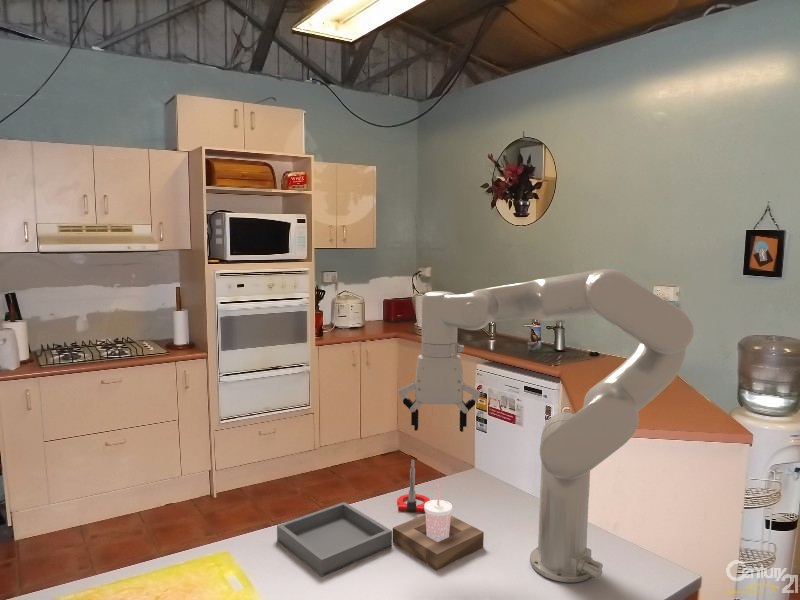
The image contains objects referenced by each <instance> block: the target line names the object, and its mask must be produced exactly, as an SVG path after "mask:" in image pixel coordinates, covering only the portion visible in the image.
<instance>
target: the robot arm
mask: <svg viewBox="0 0 800 600" xmlns="http://www.w3.org/2000/svg"><path fill="white" fill-rule="evenodd" d="M595 315H597V316H599V317H600V318H603V320H605V321H606V322H607V323H609V324H611V325H612V326H614V327H615V328H617V329H618V330H620V331H621V332H624V333H625V334H626V335H628V336H630V337H632V339H634V340H635V341H638V346H637V347H636V348H635V350H634V351H633V352H632V353H631V355H630V356H629V357H628V358H626V359H625V361H623V362H622V363H621V364H620V365H619V366H618V367H617V368H615V369H614V370H613V371H612V372H610V373H609V374H608V375H606V376H605V378H603V379H601V380H600V381H599V382H597V383H596V384H595V385H593V386H592V387H591V388H590V389H588V391H587V392H586V394H585V396H584V398H583V399H584V400H583V406H582V407H581V408H580V409H579V410H578V411H577V412H575V413H571V412H559V413H557V414H554V415H552V416H551V417H550V418H548V420H547V421H546V422H545V424H544V426H543V428H542V432H541V438H540V444H539V459H540V462H541V464H540V486H539V487H540V489H539V510H538V511H539V514H538V515H539V517H538V542H537V544H538V545H537V546H538V547H536V548H534V549H533V550H532V551H531V553H530V555H529V562H530V566H531V567H532V568H533V570H534V571H536V572H537V573H538V574H540V575H541V576H542V577H545V578H547V579H550V580H552V581H556V582H560V583H562V582H563V583H579V582H583V581H586V580H589V578H591V577H593V578H595V579H596V580H600V579H601V577H602V575H603V567H604V565H603V563H602V562H600V561H598V560H595V559H593V557H592V549H591V548H588V547H587V546H588V545H587V544H588V543H587V542H588V525H589V524H588V523H589V522H588V521H589V501H590V500H589V499H590V498H589V497H590V485H591V484H590V479H591V471H592V470H593V469H594V468H596V467H597V466H599V464H601V463H602V462H603V461H605V460H606V459H607V458H609V457H610V456H611V455H613V454H614V453H615V452H616V451H618V450H619V449H620V448H623V446H625V444H627V443H628V442H629V440H631V438H632V437H633V436H634V434H635V433H636V431H637V429H638V427H639V423H640V415H639V414H640V413H639V412H640V411H641V410H642V409H644V407H646V406H647V405H648V404H650V402H652V401H653V400H654V399H655V398H657V396H659V394H661V393H662V392H663V391H664V390H665V389H667V388H668V386H669V385H671V383H672V382H674V380H675V378H676V377H677V375H678V374H679V372H680V371H681V368H682V366H683V364H684V360H685V357H686V352H687V351H686V350H687V347H688V346H689V345H690V343H691V342H692V340H693V337H694V325H693V322H692V319H691V318H690V316H689V315H688V314H687V313H686V312H685V311H683V310H682V309H680V308H679V307H678V306H676V305H675V304H673V303H671V302H668V301H666V300H665V299H663V298H662V297H660V296H658V295H657V294H655V293H653V292H652V291H650V290H649V289H647V288H646V287H644V286H642V285H640V284H639V283H638V282H636V281H635V280H633V279H632V278H631V277H629V276H628V275H626V273H624V272H622V271H621V270H618V269H616V268H601V269H594V270H588V271H584V272H583V271H582V272H577V273H571V274H565V275H564V274H563V275H557V276H551V277H544V278H538V279H534V280H530V281H526V282H519V283H513V284H507V285H506V284H505V285H500V286H494V287H487V288H480V289H476V290H473V291H471V292H467V293H465V294H464V293H462V294H456V293H454V292H452V291H444V290H443V291H428V292H425V293H424V294H423V295H422V298H421V354H419V355H418V357H417V361H416V369H415V381H414V382H412V383H410V384H408V385H405V386H404V387H401V388H400V389H398V392H397V393H398V396H399V397H400V399H401V401H402V404H403V405H404V406H405V407H407V408H408V410H409V411H410V412H411V414H410V415H411V416H410V417H411V420H410V421H411V423H410V424H411V426H414V427H413V428H414V432H416V431H419V409H418V408H419V407H420V406H421V405H446V406H447V405H451V406H452V405H453V406H454V405H455V406H456V405H457V407H458V408H459V409H460V410H459V432H460V433H462V432H463V433H464V427H465V428H467V421H468V420H467V413H469V411H470V410H471V409H472V408H473V407H474V406H475V405H476V403H477V402H478V400H479V397H480V396H481V392H480V391H479V390H478V389H477V388H474V387H473V386H472V385H471V386H470V385H469V384H467V383H465V382H464V375H463V374H464V373H463V363H462V362H463V361H462V358H461V355H458V354H459V353H461V352H465V345H464V344H460V343H458V329H463V330H469V331H478V330H481V329H484V327H486V326H487V325H489V323H490V324H491V323H494V322H502V321H508V320H518V319H519V320H520V319H532V320H537V321H541V322H542V321H543V322H551V321H558V320H567V319H573V318H580V317H586V316H595ZM412 391H414V398H415V399H414V400H413V401H412V400H411V399H410V398H409V396H408V395H407V394H408V393H410V392H412ZM464 392H465V393H468V394H470V395H471V397H470V398H469V399H468V400H467V401H466V402H465V401H464V400H463V399H464Z"/></svg>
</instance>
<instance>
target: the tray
mask: <svg viewBox="0 0 800 600" xmlns="http://www.w3.org/2000/svg"><path fill="white" fill-rule="evenodd" d="M276 540H277V542H279V543H280V544H281V545H282V546H283V547H284V548H286V549H287V550H289V552H290V553H292V554H293V555H294V556H296V557H297V558H298V559H299V560H300V561H302V562H303V563H304V564H306V566H307V567H309V568H310V569H311V570H313V571H314V572H315V573H317V574H318V575H319V576H320V577H321V578H323V577H324V576H327V575H329V574H332V573H334V572H336V571H338V570H341V569H343V568H345V567H348V566H349V565H352V564H354V563H356V562H359V561H362V560H364V559H365V558H368V557H370V556H373V555H375V554H377V553H380V552H382V551H384V550H387V549H389V548H391V547H393V530H391V529H390V528H387V527H386V526H385V525H383V524H381V523H380V522H378V521H376V520H375V519H374V518H371V517H370V516H368V515H366V514H365V513H363V512H362V511H360V510H359V509H357V508H355V507H353V506H352V505H350V504H349V503H347V502H345V501H344V502H340V503H337V504H335V505H331V506H328V507H326V508H323V509H321V510H317V511H315V512H311V513H309V514H308V513H307V514H305V515H303V516H300V517H296V518H294V519H291V520H288V521H285V522H283V523H280V524H278V525H276Z"/></svg>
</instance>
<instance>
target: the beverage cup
mask: <svg viewBox="0 0 800 600" xmlns="http://www.w3.org/2000/svg"><path fill="white" fill-rule="evenodd" d="M440 486H441V485H440V482H438V483H437V492H436V493H437V494H436V499H432V500H431V499H430V501H428V502H426V503H425V505H424V510H425V513H424V514H426V533H427V536H428V537H429V538H431V539H433V540H434V541H436V542H439V541H441V540H443V539H446V538H448V537H449V529H450V517H451V516H452V511H453V505H452V503H450V502H449V501H446V500H442V499H440V490H441V489H440Z"/></svg>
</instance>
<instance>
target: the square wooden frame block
mask: <svg viewBox="0 0 800 600" xmlns="http://www.w3.org/2000/svg"><path fill="white" fill-rule="evenodd" d="M392 544H394V545H395V546H397V547H399V549H401V550H403V551H405V552H406V553H408V554H409V555H411V556H412V557H414V558H416V559H417V560H419V561H421V562H422V563H424V564H425V565H426V566H428V567H431V568H432V569H433V570H435V571H436V572H437V571H439V570H441V569H444V568H445V567H447V566H450V565H452V564H453V563H455V562H457V561H459V560H461V559H463V558H465V557H466V556H469V555H471V554H473V553H474V552H477V551H479V550H481V549H483V548H484V531H482V530H480V529H479V528H476V526H473V525H471V524H469V523H468V522H465V521H463V520H462V519H459V518H457V517H455V516H453V515H451V517H450V529H449V537H448V538H446V539H443V540H441V541H439V542H436V541H434V540H433V539H431V538H429V537H428V536H427V533H426V513H424V514H423V515H420V516H418V517H415V518H413V519H411V520H408V521H406V522H403V523H401V524H398V525H396V526H393V527H392Z"/></svg>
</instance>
